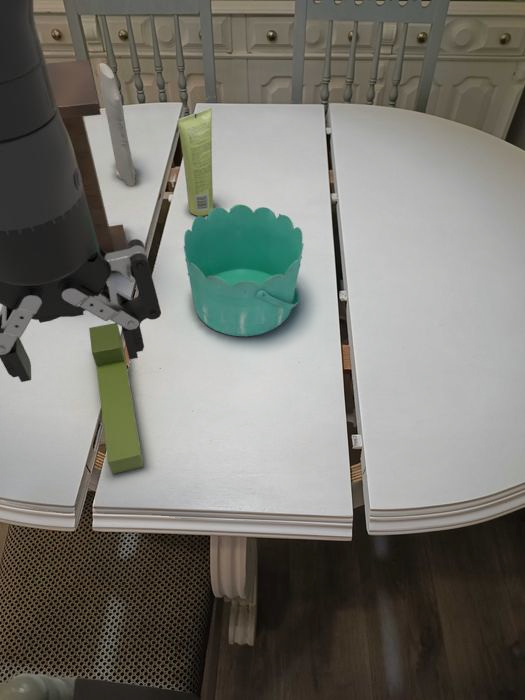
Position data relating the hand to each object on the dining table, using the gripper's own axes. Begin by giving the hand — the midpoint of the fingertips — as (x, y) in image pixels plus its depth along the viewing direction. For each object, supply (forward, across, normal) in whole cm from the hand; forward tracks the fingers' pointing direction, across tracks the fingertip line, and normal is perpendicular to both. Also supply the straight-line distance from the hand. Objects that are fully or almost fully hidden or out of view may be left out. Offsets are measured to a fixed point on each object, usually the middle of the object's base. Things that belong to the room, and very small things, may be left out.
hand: (80, 362), depth 44 cm
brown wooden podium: (+28, 0, -47) cm, 55 cm away
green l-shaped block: (+28, 0, -16) cm, 32 cm away
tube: (+28, -22, -60) cm, 70 cm away
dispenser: (+28, -9, -77) cm, 83 cm away
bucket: (+28, -23, -32) cm, 49 cm away
